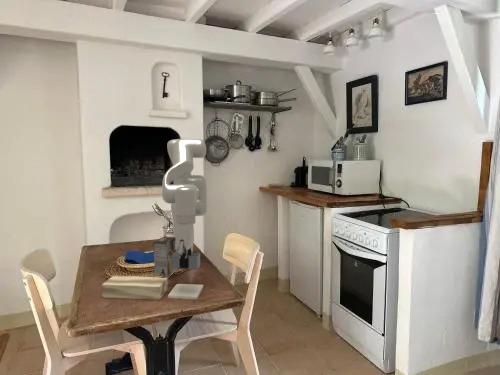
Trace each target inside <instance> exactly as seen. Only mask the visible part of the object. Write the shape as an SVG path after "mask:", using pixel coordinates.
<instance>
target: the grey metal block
mask: <svg viewBox="0 0 500 375" xmlns="http://www.w3.org/2000/svg"><path fill="white" fill-rule="evenodd" d="M183 253H185V252H183ZM187 258H188V268H187V269H186V270H198V269H199V268H200V266H201V252H194V251H193V252H188V254H187ZM171 269H176V270H177V269H179V270H185V269H184V268H180V259H179V252H174V253H173V254H172V255H171Z"/></svg>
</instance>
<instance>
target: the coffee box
mask: <svg viewBox="0 0 500 375" xmlns="http://www.w3.org/2000/svg"><path fill="white" fill-rule="evenodd" d="M175 241H176V238H175V237H171V236H163V237H160V238H158V239H157V240H155V241H153V253H154V254H153V257H154V258H153V261H154V277H155V276H163V277H165V278H167V280H169V279H170V278H171V277H172V276H171V274H172V273H173V272H174V271H175V270H176V271H177V269H171V255H172V254H173V253H174V252H176V249H175ZM170 276H171V277H170Z"/></svg>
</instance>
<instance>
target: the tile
mask: <svg viewBox="0 0 500 375" xmlns="http://www.w3.org/2000/svg"><path fill="white" fill-rule="evenodd" d="M203 289H204V284H192V283H191V284H189V283H176V284H175V285H174V287H173V288H172V290H171V291H170V292H169V294H168V295H167V298H168V299H179V298H180V300H182V299H184V300H197V299H199V296H200V294H201V293H202V291H203Z"/></svg>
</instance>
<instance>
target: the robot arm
mask: <svg viewBox="0 0 500 375" xmlns="http://www.w3.org/2000/svg"><path fill="white" fill-rule="evenodd" d="M166 147H167V148H166V149H167V153H168V156H169V159H170V161H171V164H172V166H171V167H170V168H168V170H167V171H166V172H165V174H164V175H163V178H162V186H161V188H162V189H161V197H162V200H163V201H164V203H166V204H170V207H171V208H170V209H171V216H172V224H173V225H172V229H173V230H172V231H173V237H175V238H176V241H175V249H176V252H179V259H180V268H184V269H183V270H188V269H187V268H188V258H187V254H188V252H194V243H195V228H194V226H195V225H194V224H196V217H201V216H205V215H206V214H207V212H208V194H207V190H208V189H207V181H206V178H205V176H203V175H201V174H192V171H193V170H194V167H195V166H194V159H198V158H199V159H204V158H205V157H206V155H207V146H206V143H205V140H203V139H202V138H177V139H171V140H169V141H168V142H167V146H166ZM172 182H173V184H171V183H172ZM183 252H185V253H183Z"/></svg>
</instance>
